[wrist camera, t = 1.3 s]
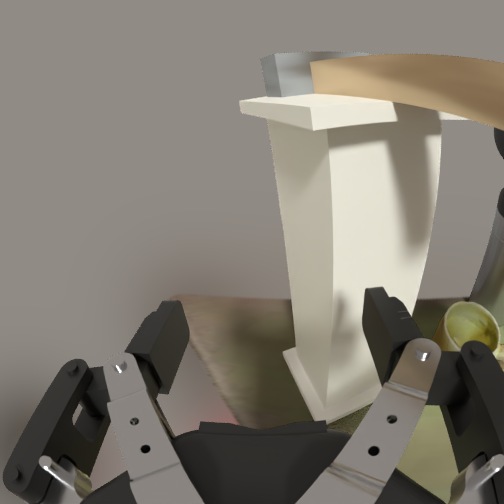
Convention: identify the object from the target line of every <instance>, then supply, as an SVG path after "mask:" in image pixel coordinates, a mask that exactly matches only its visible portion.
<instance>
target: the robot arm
mask: <svg viewBox="0 0 504 504" xmlns="http://www.w3.org/2000/svg"><path fill="white" fill-rule="evenodd" d="M494 138H495V143H496V145H497V148H498V151H499V153H500V154H501V156H502V157H503V159H504V131H503V130H501V129H498V128H495V127H494ZM469 302H475V303H477V304H480V305H481V306H483V307H484V308H485V309H486V310H488V311H489V312H490V313H491V314H492V316H493V317H494V318H495V320H496V321H497V323H498V326H501V325H504V188H503V189H502V190H501V192H500V195H499V200H498V205H497V209H496V214H495V218H494V222H493V227H492V231H491V235H490V238H489V242H488V245H487V249H486V252H485V255H484V258H483V262H482V265H481V268H480V271H479V274H478V276H477V279H476V282H475V284H474V287H473V290H472V292H471V295H470V298H469ZM362 328H363V332H364V335H365V338H366V341H367V343H368V346H369V349H370V352H371V355H372V358H373V361H374V364H375V367H376V370H377V374H378V377H379V380H380V383H381V386H382V389H381V390H380V392H379V394H378V396H377V397H376V399H375V401H374V402H373V404H372V406H371V407H370V409H369V411H368V412H367V414H366V415H365V417H364V419H363V420H362V422H361V423H360V425H359V426H358V428H357V429H356V431H355V432H354V434H353V435H350V434H348V433H346V432H343V431H340V430H335V429H329V428H327V425H326V420H321V421H309V422H295V423H291V424H287V425H283V426H279V427H275V428H270V429H266V430H257V429H252V428H248V427H243V426H239V425H235V424H231V423H215V422H200V426H199V430H194V431H190V432H186V433H183V434H181V435H178V436H175V434H174V433H173V431H172V429H171V427H170V425H169V423H168V421H167V419H166V417H165V415H164V413H163V411H162V409H161V407H160V405H159V403H158V401H157V400H156V398H157V396H158V393H159V394H169V391H170V389H171V386H172V383H173V380H174V378H175V375H176V373H177V370H178V367H179V365H180V362H181V360H182V357H183V354H184V352H185V349H186V347H187V344H188V341H189V327H188V324H187V320H186V317H185V314H184V310H183V307H182V304H181V302H180V301H179V300H174V301H162V303H161V304H160V306H159V308H158V309H157V311H156V312H152V313H151V314H150V315H148V316H147V317H146V318H145V319H144V321H143V323H142V324H141V327H139V329H138V331H137V333H136V334H135V335H134V337H133V339H132V340H131V342H130V344H129V345H128V347H127V349H126V350H125V352H124V353H118V354H115V355H113V356H112V357H110V358H109V359H108V360H107V361H106V362H105V364H104V366H102V367H94V368H89V367H88V365H87V363H86V362H85V361H84V360H82V359H74V360H71V361H69V362H67V363H66V364H65V365H64V366H63V367H62V368H61V370H60V371H59V373H58V374H57V376H56V377H55V379H54V380H53V382H52V383H51V385H50V387H49V388H48V390H47V392H46V393H45V395H44V397H43V398H42V400H41V401H40V403H39V405H38V407H37V408H36V410H35V412H34V413H33V415H32V417H31V419H30V420H29V422H28V424H27V426H26V428H25V429H24V431H23V433H22V435H21V437H20V439H19V441H18V443H17V444H16V447H15V448H14V450H13V452H12V454H11V456H10V458H9V460H8V462H7V465H6V467H5V469H4V472H3V482H4V485H5V486H6V488H7V489H8V490H9V491H11V492H12V493H14V494H15V495H16V496H18V497H20V498H21V499H22V500H23V501H25V502H26V503H27V504H446V503H445V502H444V501H442V500H441V499H440V498H438V497H437V496H435V495H434V494H432V493H431V492H429V491H428V490H426V489H425V488H423V487H422V486H420V485H419V484H418V483H416V482H415V481H413V480H412V479H411V478H409V477H408V476H406V475H405V474H404V473H402V472H401V471H400V470H398V469H397V468H396V465H397V464H398V462H399V460H400V458H401V456H402V454H403V452H404V450H405V448H406V446H407V444H408V442H409V440H410V438H411V436H412V434H413V432H414V430H415V427H416V425H417V423H418V421H419V418H420V416H421V414H422V411H423V409H424V406H425V405H439V406H440V409H441V412H442V415H443V418H444V421H445V424H446V427H447V431H448V434H449V438H450V441H451V445H452V448H453V452H454V456H455V460H456V464H457V468H458V473H459V474H458V475H457V476H456V477H455V479H454V480H453V482H452V485H451V496H450V501H449V503H448V504H504V372H503V370H502V368H501V366H500V365H499V363H498V361H497V359H496V358H495V356H494V354H493V353H492V351H491V349H490V348H489V347H488V346H487V345H486V344H484V343H483V342H480V341H476V340H471V341H467V342H465V343H464V344H463V345H462V347H461V350H460V351H442V350H441V349H440V347H439V346H438V345H437V344H436V343H435V342H434V341H432V340H429V339H426V338H424V337H423V335H422V334H421V332H420V330H419V328H418V327H417V325H416V323H415V321H414V320H413V318H411V315H410V313H409V311H408V310H407V308H406V306H405V305H404V303H403V302H402V301H400V300H399V299H398V298H396V297H395V296H394V297H389V296H388V294H387V292H386V291H385V289H384V287H382V286H381V287H372V288H366V289H365V293H364V304H363V314H362ZM78 404H80V405H81V406H82V408H83V409H82V411H81V413H80V415H79V417H78V419H77V421H76V423H75V425H73V422H72V417H73V414H74V412H75V410H76V408H77V406H78ZM110 422H112V425H113V429H114V432H115V435H116V438H117V442H118V445H119V448H120V451H121V454H122V457H123V460H124V463H125V465H126V468H127V471H125V472H124V473H122V474H121V475H119V476H117V477H116V478H114V479H113V480H111V481H110V482H108V483H106V484H105V485H103V486H101V487H100V488H98V489H97V490H95V491H93V490H92V484H91V481H90V479H89V478H90V475H91V472H92V469H93V466H94V464H95V461H96V459H97V456H98V453H99V450H100V447H101V445H102V443H103V440H104V437H105V435H106V432H107V430H108V427H109V425H110Z"/></svg>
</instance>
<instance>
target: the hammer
mask: <svg viewBox="0 0 504 504" xmlns="http://www.w3.org/2000/svg"><path fill="white" fill-rule="evenodd" d="M260 60H261V65H262V70H263V76H264V82H265V87H266V92H267V97H289V96H298V95H307V94H328V95H341V96H352V97H362V98H370V99H377V100H384V101H391V102H397V103H403V104H408V105H414V106H419V107H423V108H428V109H433V110H437V111H441V112H445V113H449V114H453V115H457V116H460V117H464V118H467V119H471V120H474V121H477V122H480V123H483V124H486V125H489V126H492V127H495V128H498V129H501V130H503V131H504V63H500V62H495V61H489V60H483V59H476V58H468V57H459V56H448V55H430V54H384V55H370V53H356V52H355V53H354V52H294V53H279V54H272V55H270V56H267V57H264V58H262V59H260Z"/></svg>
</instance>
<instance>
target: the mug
mask: <svg viewBox="0 0 504 504" xmlns="http://www.w3.org/2000/svg"><path fill="white" fill-rule="evenodd" d="M471 340H476V341H480V342H483V343H484V344H486V345H487V346H488V347H489V348H490V349H491V351H492V353H493V354H494V356H495V358H496V359H497V361H498V363H499V365H500V366H501V368H502V370H503V371H504V344H500V330H499V327H498V323H497V321H496V320H495V318H494V317H493V316H492V314H491V313H490V312H489V311H488V310H486V309H485V308H484V307H483V306H481V305H480V304H477V303H475V302H463V301H460V302H456V303H454V304H453V305H451V306H450V307H449V308H448V310H447V311H446V312H445V314H444V316H443V317H442V319H441V321H440V323H439V325H438V327H437V330H436V332H435V334H434V336H433V338H432V341H434V342H435V343H436V344H437V345H438V346H439V347H440V349H441V350H442V351H460V350H461V347H462V345H463V344H464V343H465V342H467V341H471Z"/></svg>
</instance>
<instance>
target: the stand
mask: <svg viewBox="0 0 504 504" xmlns="http://www.w3.org/2000/svg"><path fill="white" fill-rule="evenodd" d="M239 103H240V109H241V113H244V114H249V115H253V116H258V117H263V118H267V124H268V130H269V136H270V142H271V149H272V155H273V162H274V168H275V175H276V182H277V189H278V196H279V203H280V211H281V218H282V226H283V233H284V241H285V249H286V257H287V265H288V273H289V283H290V292H291V301H292V310H293V320H294V330H295V340H296V347H294V348H291V349H289V350H286V351H283V357H284V359H285V361H286V363H287V365H288V367H289V370H290V372H291V374H292V376H293V378H294V380H295V382H296V384H297V386H298V388H299V390H300V392H301V395H302V397H303V399H304V401H305V403H306V405H307V407H308V409H309V411H310V413H311V415H312V417H313V419H314V421H321V420H326V425H327V424H329V423H332V422H334V421H336V420H338V419H340V418H342V417H345V416H347V415H349V414H351V413H353V412H355V411H357V410H359V409H361V408H363V407H365V406H367V405H369V404H371V403H373V402H374V401H375V399H376V397H377V396H378V394H379V392H380V390H381V389H382V386H381V383H380V380H379V377H378V374H377V370H376V367H375V364H374V361H373V358H372V355H371V352H370V349H369V346H368V343H367V341H366V338H365V335H364V332H363V328H362V314H363V304H364V293H365V289H366V288H372V287H381V286H382V287H384V289H385V291H386V292H387V294H388V296H389V297H394V296H395V297H396V298H398V299H399V300H400V301H402V302H403V303H404V305H405V306H406V308H407V310H408V311H409V313H410V315H411V316H412V313H413V309H414V306H415V303H416V299H417V295H418V292H419V288H420V284H421V280H422V276H423V271H424V268H425V263H426V259H427V254H428V249H429V244H430V239H431V233H432V228H433V221H434V214H435V208H436V199H437V192H438V182H439V170H440V155H441V120H443V119H457V120H458V119H460V120H470V119H467V118H464V117H460V116H457V115H453V114H449V113H445V112H441V111H437V110H433V109H428V108H423V107H419V106H414V105H408V104H403V103H397V102H391V101H384V100H377V99H370V98H362V97H352V96H341V95H328V94H307V95H298V96H289V97H267V96H266V97H260V98H255V99H248V100H243V101H239Z"/></svg>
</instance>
